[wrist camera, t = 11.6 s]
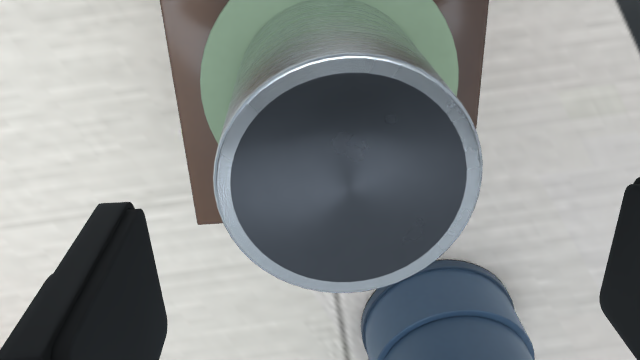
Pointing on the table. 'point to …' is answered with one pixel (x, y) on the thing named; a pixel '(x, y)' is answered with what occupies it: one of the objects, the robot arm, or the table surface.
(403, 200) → the silver cup
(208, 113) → the coaster
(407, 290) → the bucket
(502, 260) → the table surface
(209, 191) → the brown cube block
